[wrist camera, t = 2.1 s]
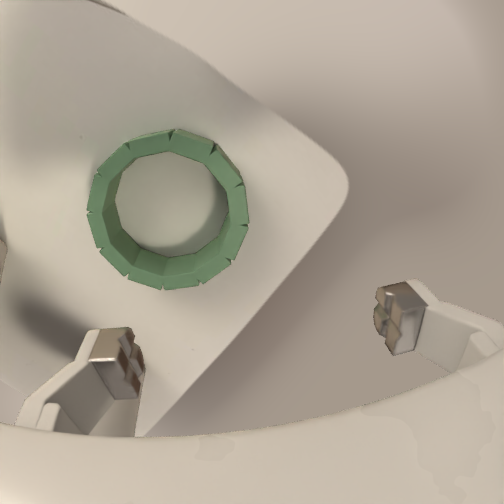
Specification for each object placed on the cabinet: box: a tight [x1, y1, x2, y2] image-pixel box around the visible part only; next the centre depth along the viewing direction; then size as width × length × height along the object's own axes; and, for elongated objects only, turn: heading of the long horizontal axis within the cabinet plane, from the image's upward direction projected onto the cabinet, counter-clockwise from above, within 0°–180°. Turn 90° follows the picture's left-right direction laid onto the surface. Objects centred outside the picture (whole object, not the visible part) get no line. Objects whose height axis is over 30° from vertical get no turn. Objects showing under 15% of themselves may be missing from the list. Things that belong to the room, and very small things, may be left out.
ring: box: [87, 129, 249, 290], centre depth 21 cm, size 11×11×3 cm
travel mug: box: [89, 364, 145, 437], centre depth 20 cm, size 6×7×20 cm
